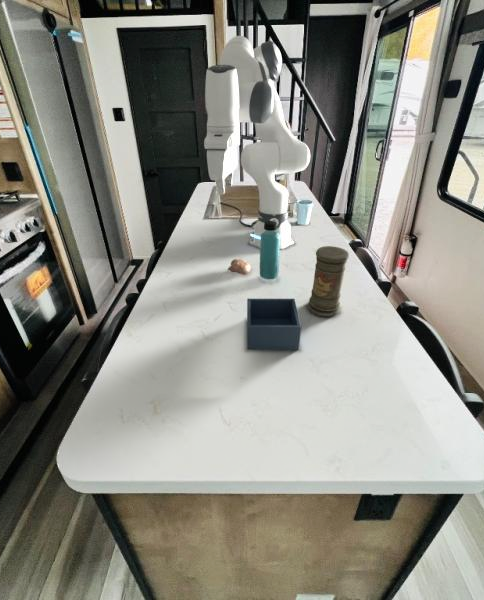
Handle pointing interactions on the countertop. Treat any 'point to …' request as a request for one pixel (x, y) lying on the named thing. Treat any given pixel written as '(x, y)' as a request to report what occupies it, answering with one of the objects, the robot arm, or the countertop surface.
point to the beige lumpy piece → (239, 267)
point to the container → (328, 281)
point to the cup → (303, 211)
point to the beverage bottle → (269, 251)
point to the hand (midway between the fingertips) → (225, 190)
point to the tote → (272, 324)
